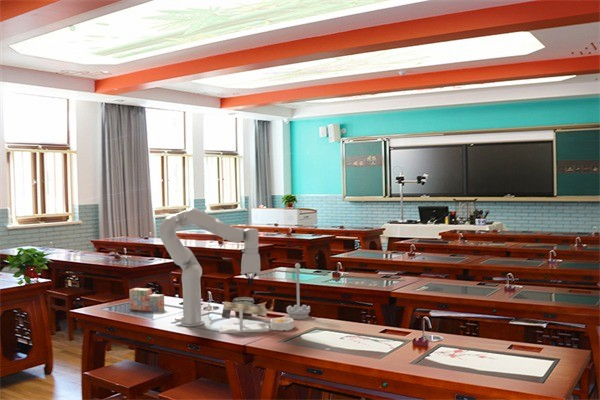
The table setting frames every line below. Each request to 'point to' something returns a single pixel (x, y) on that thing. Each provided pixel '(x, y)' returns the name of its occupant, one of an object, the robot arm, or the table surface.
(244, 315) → the food container
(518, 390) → the table surface
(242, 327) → the catapult stand
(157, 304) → the stack of blocks
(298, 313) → the flag stand
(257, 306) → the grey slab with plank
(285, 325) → the white bowl
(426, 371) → the table surface
